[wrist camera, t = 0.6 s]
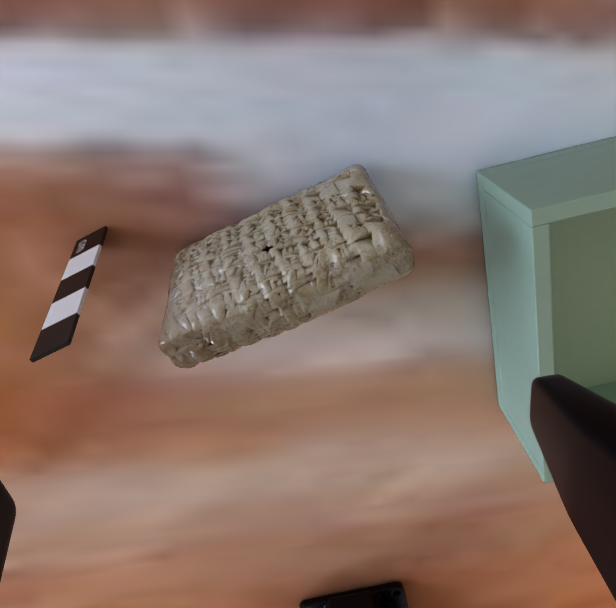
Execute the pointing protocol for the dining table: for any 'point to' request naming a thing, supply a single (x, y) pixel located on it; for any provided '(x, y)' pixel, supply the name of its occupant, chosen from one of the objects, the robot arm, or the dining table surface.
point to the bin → (551, 276)
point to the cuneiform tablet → (257, 271)
